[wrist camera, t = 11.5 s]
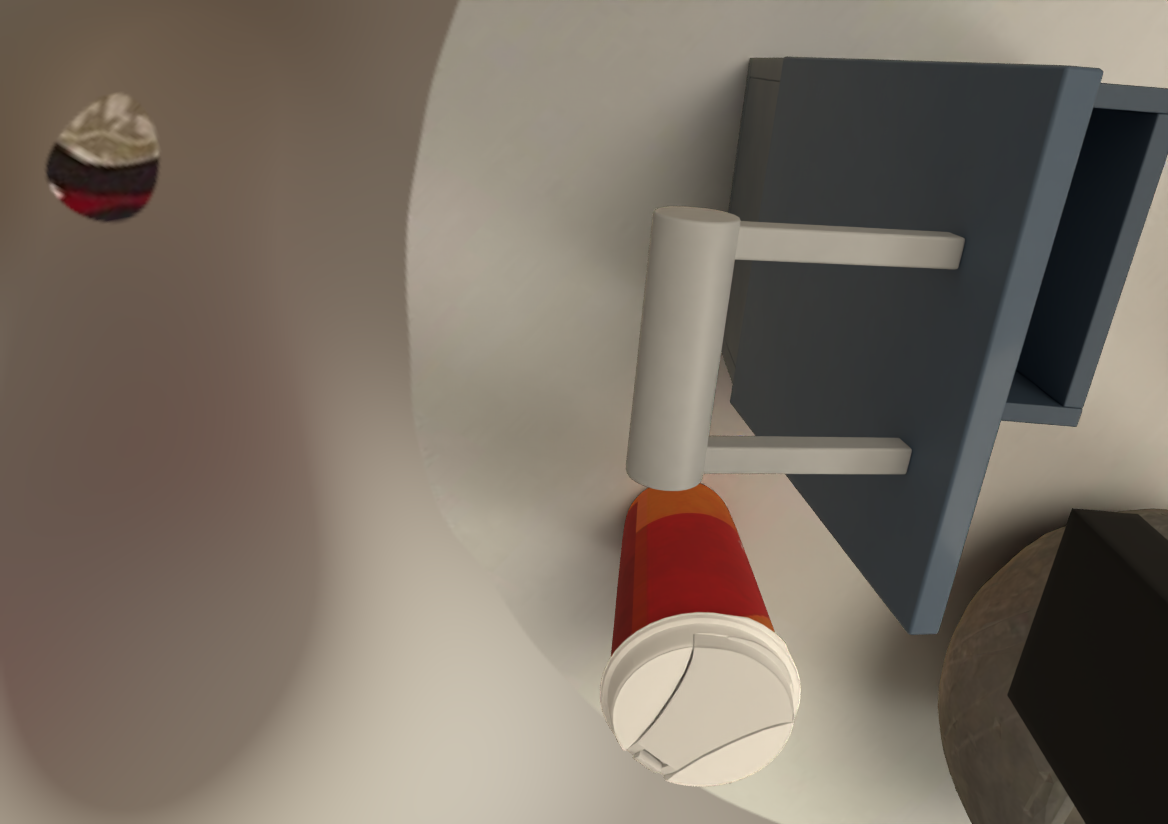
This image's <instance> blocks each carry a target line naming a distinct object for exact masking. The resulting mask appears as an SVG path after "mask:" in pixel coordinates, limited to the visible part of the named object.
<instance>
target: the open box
mask: <svg viewBox="0 0 1168 824" xmlns="http://www.w3.org/2000/svg"><path fill="white" fill-rule="evenodd" d="M783 59H784V58H750V62H749V69H748V76H747V83H746V90H745V97H744V104H743V111H742V118H741V125H740V132H739V139H738V146H737V153H736V161H735V168H734V175H733V182H732V189H731V196H730V203H729V210H728V213H731V214H734V215H736V216H738V217H739V218H740V221H749V222H758V219H759V213H760V207H761V200H762V194H763V187H764V181H765V174H766V168H767V162H768V155H769V149H770V142H771V136H772V130H773V123H774V117H775V110H776V104H777V97H778V91H779V85H780V78H781V72H782V65H783ZM1167 155H1168V88H1155V87H1143V86H1131V85H1119V84H1107V83H1100V86H1099V90H1098V93H1097V96H1096V100H1095V103H1094V107H1093V110H1092V113H1091V117H1090V120H1089V123H1088V127H1087V130H1086V134H1085V137H1084V140H1083V144H1082V147H1081V151H1080V154H1079V157H1078V161H1077V164H1076V168H1075V171H1074V174H1073V178H1072V181H1071V185H1070V188H1069V191H1068V195H1067V198H1066V201H1065V205H1064V208H1063V212H1062V215H1061V218H1060V222H1059V225H1058V229H1057V232H1056V235H1055V239H1054V242H1053V246H1052V249H1051V252H1050V256H1049V259H1048V262H1047V266H1046V269H1045V273H1044V276H1043V279H1042V283H1041V286H1040V290H1039V293H1038V296H1037V300H1036V303H1035V307H1034V310H1033V313H1032V317H1031V320H1030V324H1029V327H1028V330H1027V334H1026V337H1025V340H1024V344H1023V347H1022V351H1021V354H1020V357H1019V361H1018V364H1017V368H1016V371H1015V374H1014V378H1013V381H1012V385H1011V388H1010V391H1009V395H1008V398H1007V401H1006V405H1005V408H1004V412H1003V415H1002V418H1001V421H1013V422H1025V423H1037V424H1048V425H1060V426H1072V427H1077V425H1078V422H1079V419H1080V416H1081V413H1082V408H1083V406H1084V403H1085V400H1086V397H1087V394H1088V391H1089V388H1090V385H1091V382H1092V379H1093V376H1094V373H1095V370H1096V367H1097V364H1098V361H1099V358H1100V355H1101V352H1102V349H1103V346H1104V343H1105V340H1106V337H1107V334H1108V331H1109V328H1110V325H1111V322H1112V319H1113V316H1114V313H1115V310H1116V307H1117V304H1118V301H1119V298H1120V295H1121V292H1122V289H1123V286H1124V283H1125V280H1126V277H1127V274H1128V271H1129V268H1130V265H1131V262H1132V259H1133V256H1134V253H1135V250H1136V247H1137V244H1138V242H1139V239H1140V236H1141V233H1142V230H1143V227H1144V224H1145V221H1146V218H1147V215H1148V212H1149V209H1150V206H1151V203H1152V200H1153V197H1154V194H1155V191H1156V188H1157V185H1158V182H1159V179H1160V176H1161V173H1162V170H1163V167H1164V164H1165V161H1166V158H1167ZM751 264H752V260H735V262H734V269H733V276H732V283H731V289H730V296H729V303H728V310H727V316H726V323H725V330H724V337H723V343H722V350H721V353H722V355H723V358H724V361H725V364H726V367H727V369H728V372H729V375H730V378H731V381H732V384H733V380H734V373H735V367H736V361H737V354H738V348H739V341H740V335H741V328H742V322H743V316H744V309H745V303H746V296H747V290H748V284H749V277H750V271H751Z"/></svg>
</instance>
